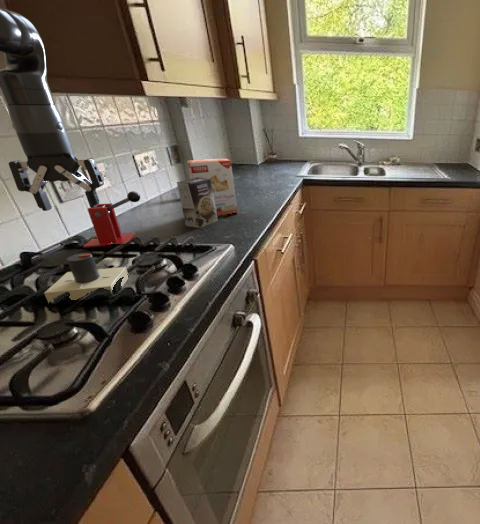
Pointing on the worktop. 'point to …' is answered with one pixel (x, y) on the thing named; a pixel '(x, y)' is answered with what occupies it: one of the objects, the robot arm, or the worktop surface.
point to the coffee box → (197, 202)
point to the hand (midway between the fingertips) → (71, 208)
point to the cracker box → (217, 182)
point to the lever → (125, 200)
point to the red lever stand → (106, 227)
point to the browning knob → (83, 267)
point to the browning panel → (81, 289)
